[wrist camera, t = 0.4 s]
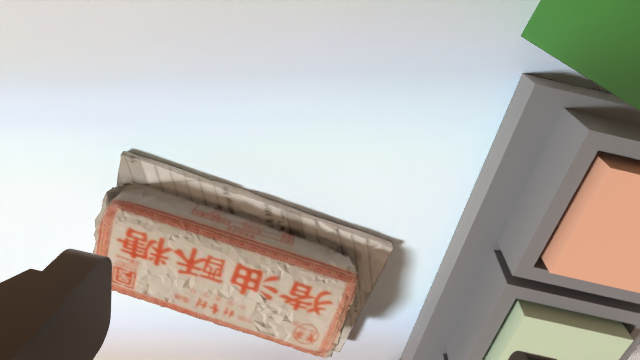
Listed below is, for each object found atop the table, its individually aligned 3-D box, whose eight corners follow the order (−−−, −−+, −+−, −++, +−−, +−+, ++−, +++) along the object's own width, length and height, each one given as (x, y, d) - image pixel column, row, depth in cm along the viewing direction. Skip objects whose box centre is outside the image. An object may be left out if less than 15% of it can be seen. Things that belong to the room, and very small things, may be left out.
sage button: (513, 290, 26) (524, 316, 24) (615, 313, 26) (633, 340, 24) (475, 360, 29) (482, 388, 27) (566, 381, 29) (580, 410, 27)
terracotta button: (590, 149, 22) (610, 168, 20) (712, 177, 22) (742, 198, 20) (536, 248, 24) (549, 272, 23) (644, 273, 25) (665, 299, 23)
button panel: (522, 73, 24) (558, 103, 20) (741, 124, 24) (824, 165, 20) (380, 405, 37) (382, 468, 33) (522, 436, 37) (543, 502, 33)
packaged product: (73, 309, 29) (87, 180, 24) (110, 261, 33) (128, 144, 29) (338, 392, 30) (399, 286, 26) (342, 336, 35) (395, 236, 30)
